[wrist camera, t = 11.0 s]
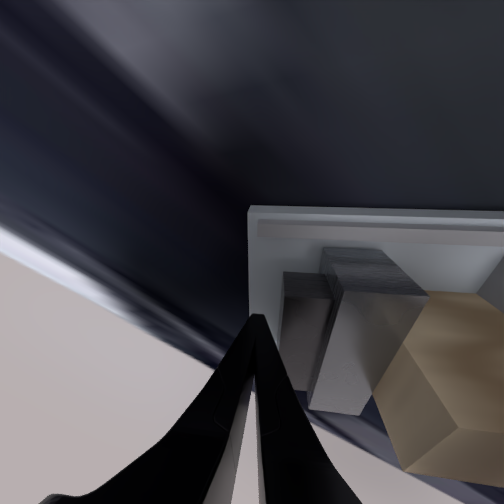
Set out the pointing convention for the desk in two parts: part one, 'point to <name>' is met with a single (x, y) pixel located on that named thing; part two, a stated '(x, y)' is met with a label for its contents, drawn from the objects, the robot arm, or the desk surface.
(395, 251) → the vise bed
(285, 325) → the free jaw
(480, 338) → the maple block
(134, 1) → the desk surface
